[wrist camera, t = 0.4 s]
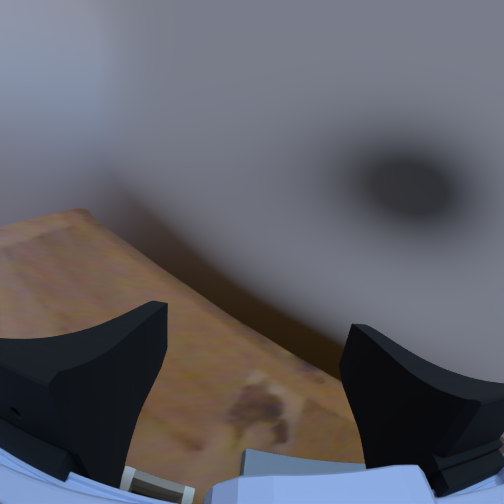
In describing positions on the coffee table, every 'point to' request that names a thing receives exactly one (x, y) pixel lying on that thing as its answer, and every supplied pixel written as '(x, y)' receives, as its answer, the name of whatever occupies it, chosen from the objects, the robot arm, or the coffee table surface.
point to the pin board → (289, 465)
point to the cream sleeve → (155, 487)
